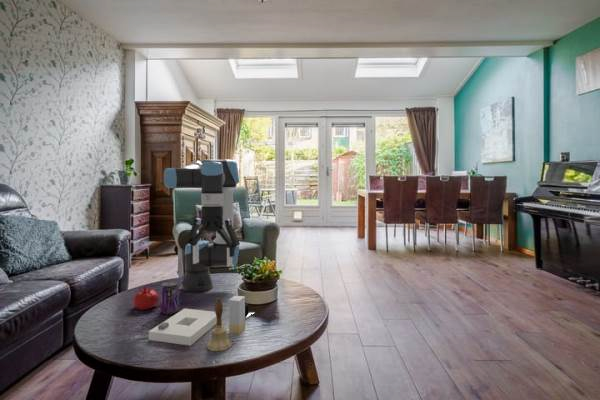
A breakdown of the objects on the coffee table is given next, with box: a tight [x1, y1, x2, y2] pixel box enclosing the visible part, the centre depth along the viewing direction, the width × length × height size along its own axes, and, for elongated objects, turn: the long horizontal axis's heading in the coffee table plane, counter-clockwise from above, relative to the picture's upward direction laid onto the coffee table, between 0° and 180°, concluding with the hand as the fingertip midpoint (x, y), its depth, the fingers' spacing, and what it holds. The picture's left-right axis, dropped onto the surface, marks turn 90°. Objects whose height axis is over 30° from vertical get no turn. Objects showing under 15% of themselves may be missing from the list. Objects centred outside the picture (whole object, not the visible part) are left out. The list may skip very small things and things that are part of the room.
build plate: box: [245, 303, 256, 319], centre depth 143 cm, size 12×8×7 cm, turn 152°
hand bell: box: [206, 297, 233, 352], centre depth 117 cm, size 8×8×16 cm
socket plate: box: [148, 307, 217, 347], centre depth 129 cm, size 22×16×4 cm
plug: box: [228, 295, 246, 335], centre depth 129 cm, size 5×4×12 cm
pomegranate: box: [132, 286, 160, 311], centre depth 151 cm, size 10×10×9 cm
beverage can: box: [160, 280, 180, 315], centre depth 146 cm, size 7×7×12 cm
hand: (212, 264), depth 127 cm, fingers open, 13 cm apart
